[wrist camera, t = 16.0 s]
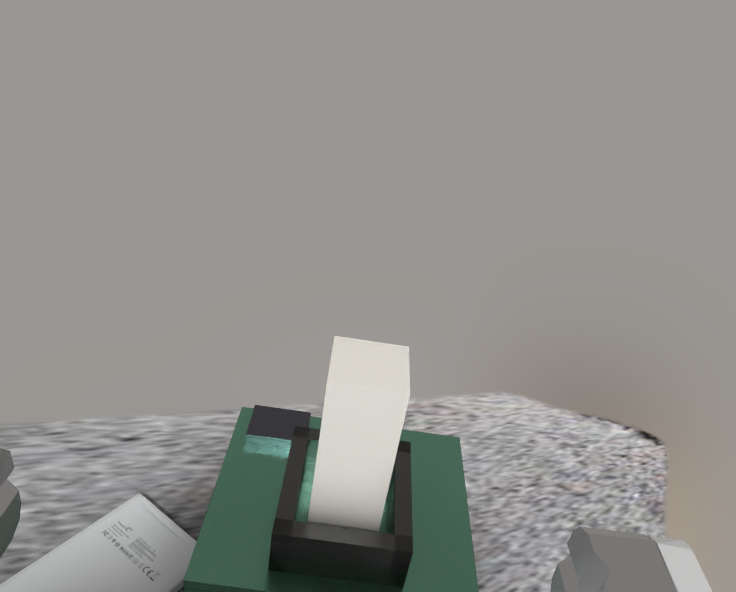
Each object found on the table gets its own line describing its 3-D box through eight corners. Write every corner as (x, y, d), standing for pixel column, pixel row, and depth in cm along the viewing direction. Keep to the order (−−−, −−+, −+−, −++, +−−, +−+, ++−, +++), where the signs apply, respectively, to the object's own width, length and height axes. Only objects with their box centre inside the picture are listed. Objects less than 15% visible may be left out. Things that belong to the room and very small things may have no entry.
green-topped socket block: (184, 674, 37) (183, 543, 31) (237, 493, 49) (244, 374, 43) (447, 707, 37) (495, 584, 31) (435, 520, 50) (468, 406, 44)
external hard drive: (-32, 621, 38) (139, 504, 47) (41, 714, 35) (212, 567, 44) (-37, 605, 37) (138, 489, 47) (38, 698, 34) (212, 553, 43)
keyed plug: (303, 547, 35) (326, 382, 29) (313, 483, 39) (335, 327, 33) (373, 556, 35) (410, 394, 29) (375, 491, 39) (408, 338, 34)
